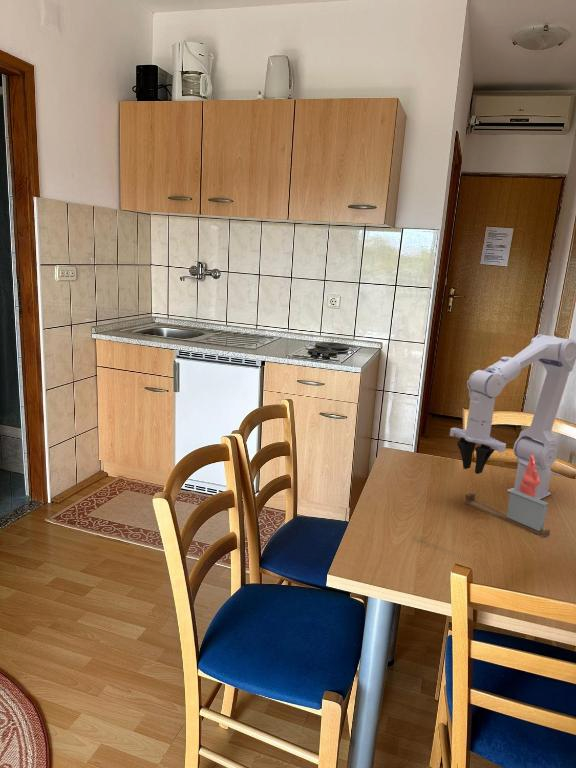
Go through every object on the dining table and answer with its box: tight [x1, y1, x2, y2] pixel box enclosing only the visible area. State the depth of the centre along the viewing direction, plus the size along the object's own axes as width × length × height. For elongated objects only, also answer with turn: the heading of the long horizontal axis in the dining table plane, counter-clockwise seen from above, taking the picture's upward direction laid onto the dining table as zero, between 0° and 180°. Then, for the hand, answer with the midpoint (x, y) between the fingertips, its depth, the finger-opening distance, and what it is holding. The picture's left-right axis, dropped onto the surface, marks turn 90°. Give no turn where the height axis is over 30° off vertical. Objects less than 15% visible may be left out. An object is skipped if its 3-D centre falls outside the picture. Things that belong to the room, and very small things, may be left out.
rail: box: [464, 491, 551, 539], centre depth 135 cm, size 3×21×2 cm, turn 38°
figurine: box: [519, 455, 540, 498], centre depth 139 cm, size 5×5×15 cm
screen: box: [506, 490, 549, 531], centre depth 131 cm, size 2×9×7 cm, turn 38°
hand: (472, 470), depth 138 cm, fingers open, 3 cm apart
